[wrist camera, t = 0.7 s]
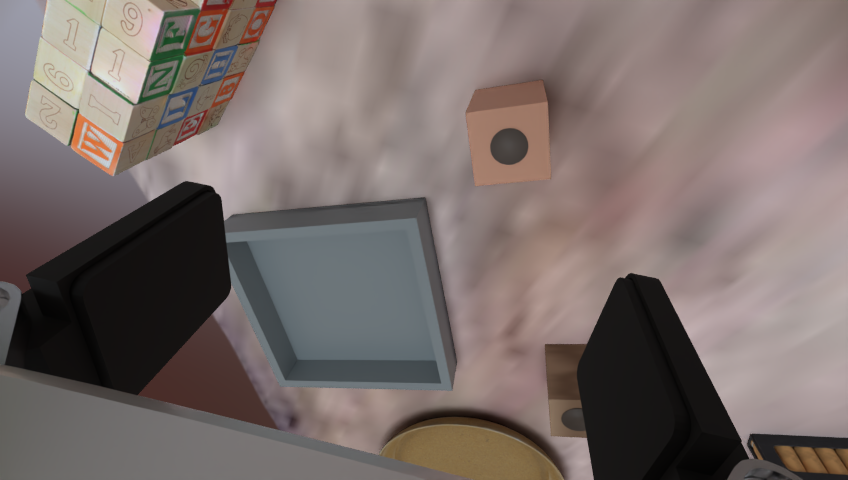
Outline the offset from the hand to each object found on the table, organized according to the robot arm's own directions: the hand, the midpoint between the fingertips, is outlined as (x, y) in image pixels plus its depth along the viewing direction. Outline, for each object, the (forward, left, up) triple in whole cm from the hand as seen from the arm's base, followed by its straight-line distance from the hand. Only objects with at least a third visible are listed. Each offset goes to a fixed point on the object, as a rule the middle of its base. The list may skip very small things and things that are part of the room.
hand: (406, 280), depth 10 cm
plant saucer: (+7, +48, -27) cm, 56 cm away
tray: (+16, +19, -27) cm, 37 cm away
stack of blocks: (+18, -9, -27) cm, 33 cm away
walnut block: (-6, +29, -27) cm, 40 cm away
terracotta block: (-2, +3, -27) cm, 27 cm away
